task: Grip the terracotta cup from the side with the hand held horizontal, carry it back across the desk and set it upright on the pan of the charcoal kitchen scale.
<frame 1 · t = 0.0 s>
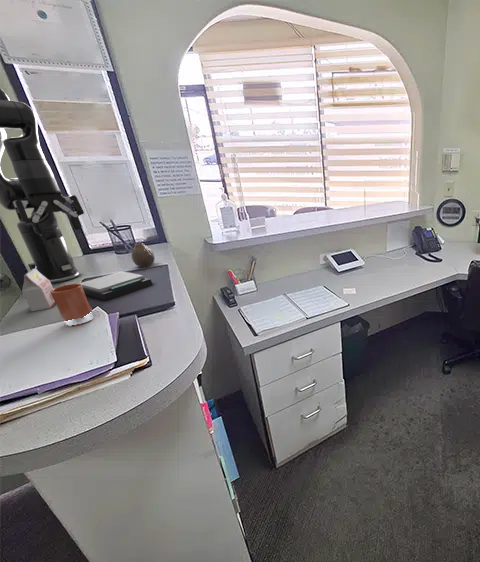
hand: (60, 232, 95), 17 cm above the table, tool pointing down, fingers open, 8 cm apart
brown coconut: (146, 266, 118), on the table
cup: (80, 321, 77), on the table
scale: (116, 288, 97), on the table
milk carton: (45, 305, 87), on the table
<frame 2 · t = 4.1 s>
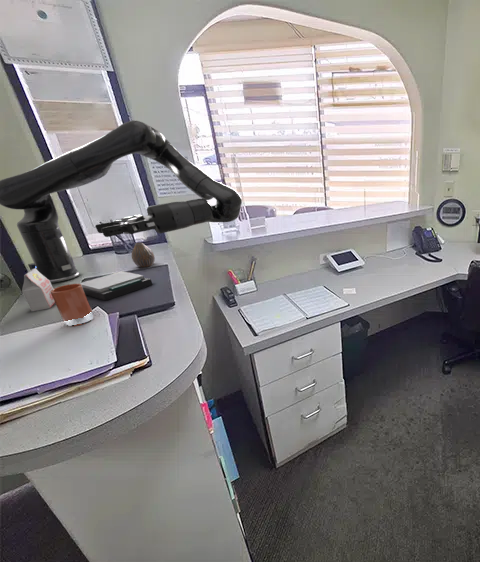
hand: (99, 231, 76), 21 cm above the table, tool horizontal, fingers open, 8 cm apart
nothing on the table moved.
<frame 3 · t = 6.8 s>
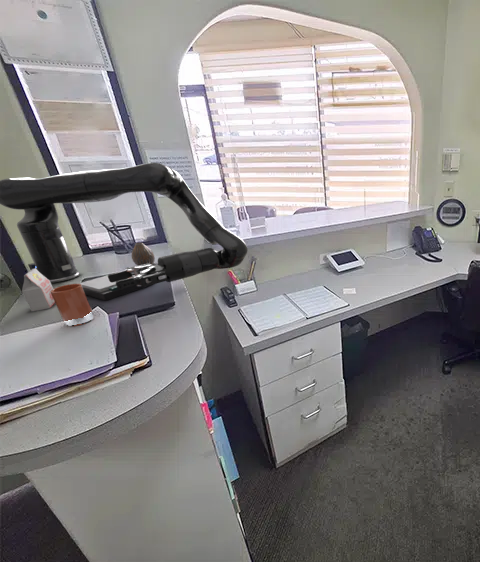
hand: (112, 282, 80), 8 cm above the table, tool horizontal, fingers open, 8 cm apart
nothing on the table moved.
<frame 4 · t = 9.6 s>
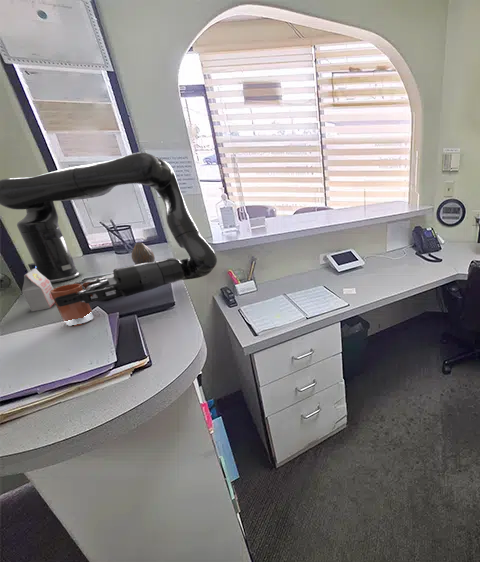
hand: (55, 299, 72), 7 cm above the table, tool horizontal, fingers closed on cup, 5 cm apart
cup: (80, 321, 77), on the table, touching gripper
everything else where it was.
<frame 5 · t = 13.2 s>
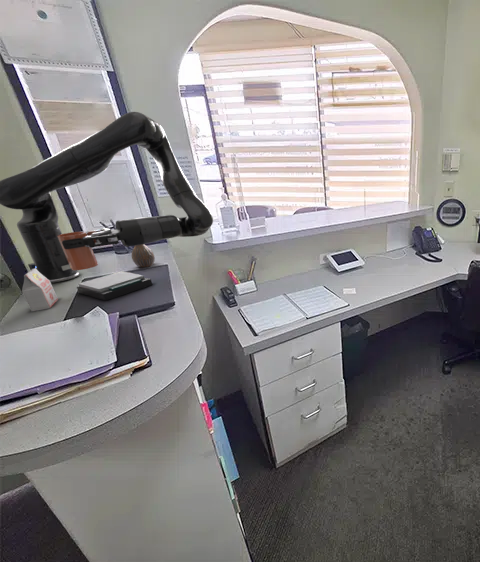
hand: (61, 243, 78), 18 cm above the table, tool horizontal, fingers closed on cup, 5 cm apart
cup: (85, 266, 83), point 11 cm above the table, touching gripper
everything else where it was.
when the fingers open (10 cm above the table, at t = 17.3 s): cup stays where it is, resting on scale.
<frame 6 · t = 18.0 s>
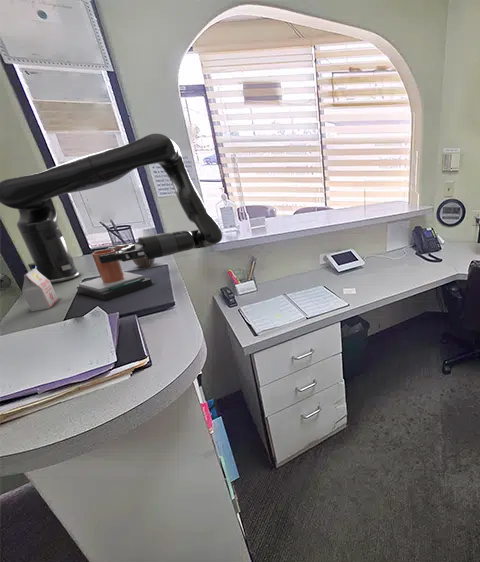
hand: (96, 257, 91), 11 cm above the table, tool horizontal, fingers open, 8 cm apart
cup: (113, 279, 96), point 3 cm above the table, touching scale
everything else where it was.
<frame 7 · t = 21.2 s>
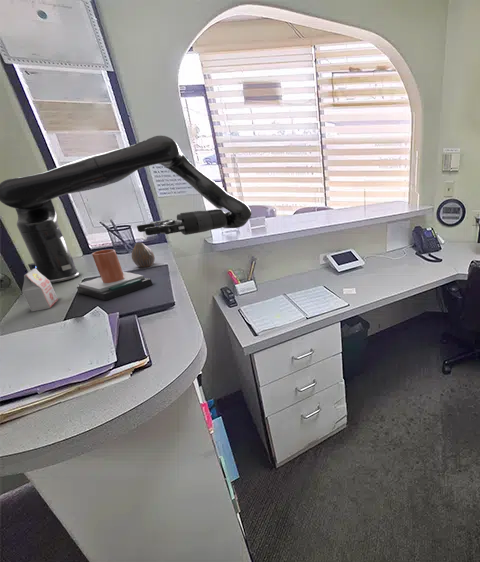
hand: (141, 230, 98), 16 cm above the table, tool horizontal, fingers open, 8 cm apart
nothing on the table moved.
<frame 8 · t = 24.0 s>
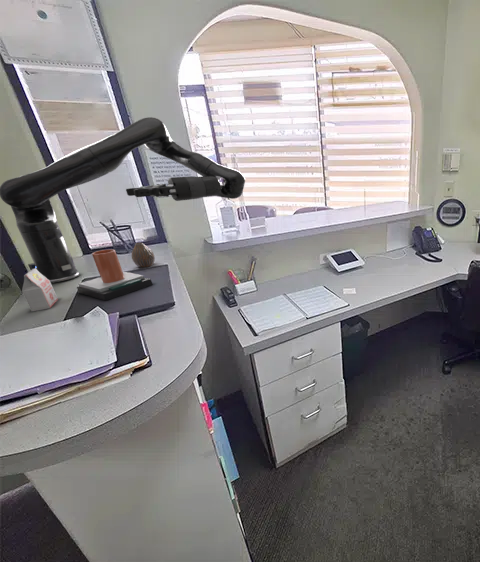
hand: (130, 192, 94), 28 cm above the table, tool horizontal, fingers open, 8 cm apart
nothing on the table moved.
at the end: cup inside the target area on the scale (1.1 cm from its centre), point 3.0 cm above the scale's base; cup tilted 0° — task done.
